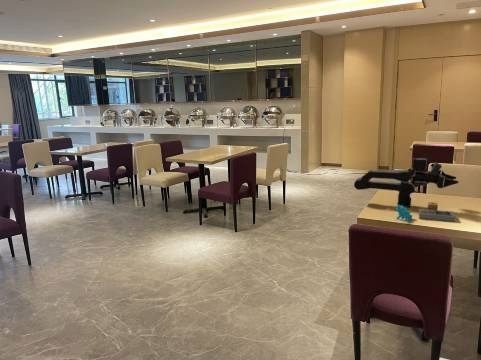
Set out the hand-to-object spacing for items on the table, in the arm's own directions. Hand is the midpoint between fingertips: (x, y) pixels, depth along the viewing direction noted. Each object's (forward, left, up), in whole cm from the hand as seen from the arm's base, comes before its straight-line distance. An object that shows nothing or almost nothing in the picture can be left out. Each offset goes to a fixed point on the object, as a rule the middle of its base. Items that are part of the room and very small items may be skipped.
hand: (457, 179), depth 198 cm
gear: (-25, -27, -17) cm, 40 cm away
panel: (-10, -18, -16) cm, 26 cm away
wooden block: (-11, -7, -17) cm, 21 cm away
